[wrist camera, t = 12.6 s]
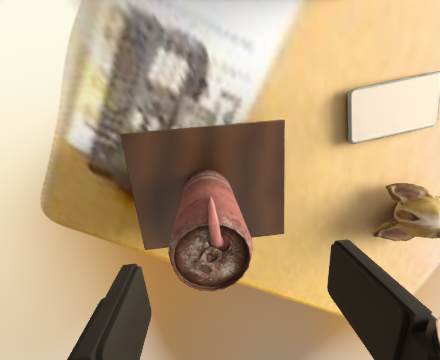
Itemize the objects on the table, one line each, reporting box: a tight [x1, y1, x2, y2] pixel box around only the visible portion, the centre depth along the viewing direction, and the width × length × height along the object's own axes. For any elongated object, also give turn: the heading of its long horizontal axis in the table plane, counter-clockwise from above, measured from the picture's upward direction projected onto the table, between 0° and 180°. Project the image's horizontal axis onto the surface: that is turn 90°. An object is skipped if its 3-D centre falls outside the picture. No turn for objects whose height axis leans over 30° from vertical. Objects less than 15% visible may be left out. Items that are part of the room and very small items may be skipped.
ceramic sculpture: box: [372, 183, 440, 241], centre depth 35 cm, size 11×9×15 cm
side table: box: [120, 120, 285, 250], centre depth 31 cm, size 20×16×7 cm
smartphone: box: [347, 71, 440, 144], centre depth 33 cm, size 8×1×15 cm
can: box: [168, 170, 253, 291], centre depth 21 cm, size 6×6×14 cm
